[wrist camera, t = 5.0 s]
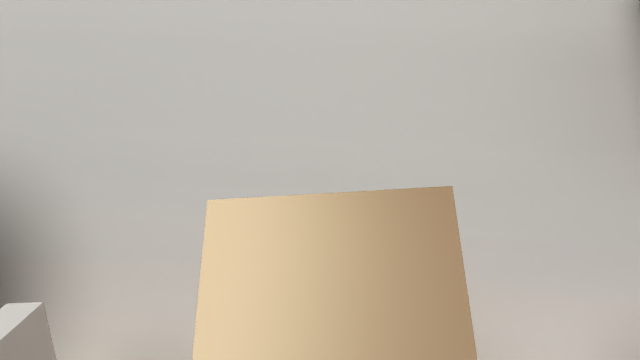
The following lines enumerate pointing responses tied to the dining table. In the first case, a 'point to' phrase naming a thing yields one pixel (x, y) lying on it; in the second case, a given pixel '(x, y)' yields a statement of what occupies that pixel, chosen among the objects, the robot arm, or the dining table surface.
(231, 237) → the long oak peg
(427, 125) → the dining table surface
